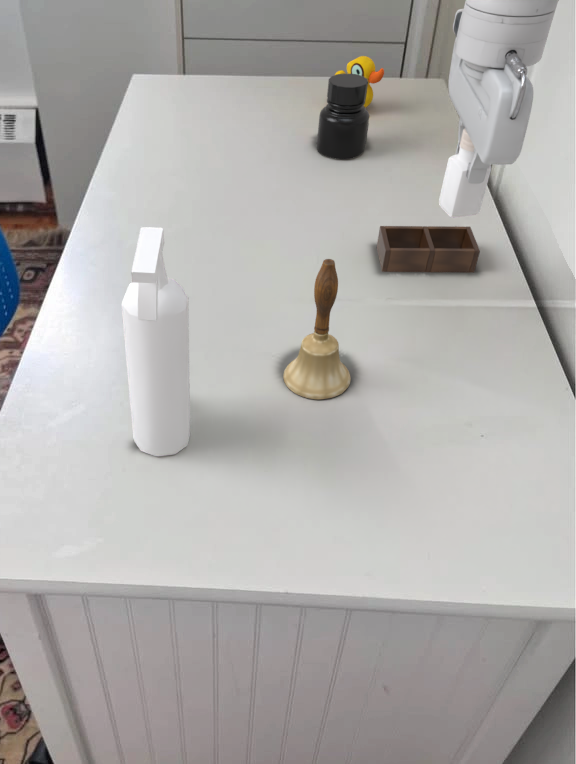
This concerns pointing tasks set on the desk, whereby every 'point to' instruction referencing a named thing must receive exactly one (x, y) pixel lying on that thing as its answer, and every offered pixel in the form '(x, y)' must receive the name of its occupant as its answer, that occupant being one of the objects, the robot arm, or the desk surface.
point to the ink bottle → (344, 117)
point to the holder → (427, 249)
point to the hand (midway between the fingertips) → (468, 169)
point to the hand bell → (319, 347)
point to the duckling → (365, 73)
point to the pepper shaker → (462, 183)
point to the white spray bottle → (157, 350)
